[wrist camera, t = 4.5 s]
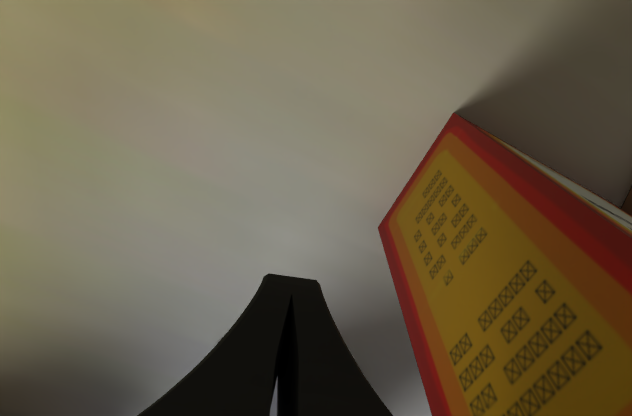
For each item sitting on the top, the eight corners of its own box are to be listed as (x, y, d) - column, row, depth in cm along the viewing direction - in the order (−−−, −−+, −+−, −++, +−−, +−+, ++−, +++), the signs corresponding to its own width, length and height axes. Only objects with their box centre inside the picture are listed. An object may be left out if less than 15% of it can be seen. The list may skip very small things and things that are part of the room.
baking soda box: (612, 204, 21) (1259, 615, 7) (527, 301, 24) (868, 764, 9) (453, 112, 20) (863, 402, 5) (377, 227, 22) (502, 656, 7)
